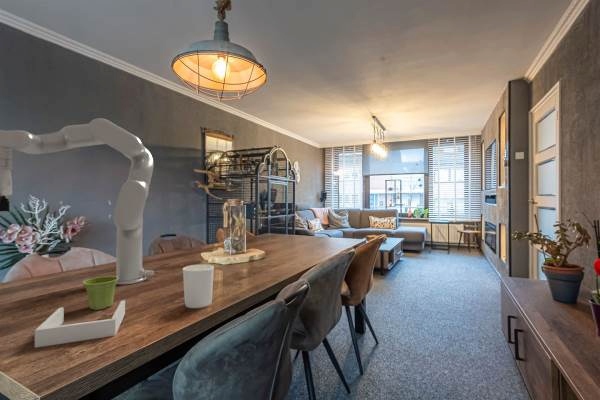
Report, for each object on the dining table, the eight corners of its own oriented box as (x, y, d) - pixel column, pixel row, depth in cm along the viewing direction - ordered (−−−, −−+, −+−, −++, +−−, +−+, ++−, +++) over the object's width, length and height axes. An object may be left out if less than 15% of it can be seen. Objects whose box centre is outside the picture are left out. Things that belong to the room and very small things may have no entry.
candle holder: (187, 299, 102) (187, 264, 102) (216, 298, 103) (216, 264, 103) (178, 309, 92) (178, 271, 92) (210, 308, 93) (210, 270, 93)
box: (125, 313, 89) (125, 300, 89) (115, 335, 74) (115, 319, 74) (59, 322, 82) (59, 307, 82) (34, 347, 68) (34, 330, 68)
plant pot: (80, 314, 88) (80, 285, 88) (85, 304, 96) (85, 278, 96) (116, 309, 92) (116, 281, 92) (119, 300, 101) (119, 274, 101)
